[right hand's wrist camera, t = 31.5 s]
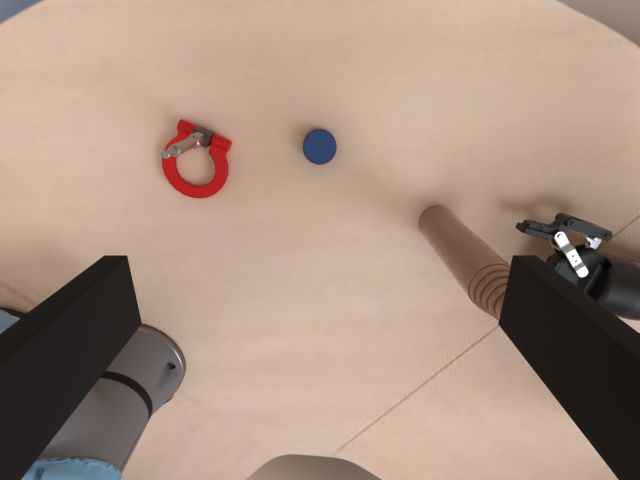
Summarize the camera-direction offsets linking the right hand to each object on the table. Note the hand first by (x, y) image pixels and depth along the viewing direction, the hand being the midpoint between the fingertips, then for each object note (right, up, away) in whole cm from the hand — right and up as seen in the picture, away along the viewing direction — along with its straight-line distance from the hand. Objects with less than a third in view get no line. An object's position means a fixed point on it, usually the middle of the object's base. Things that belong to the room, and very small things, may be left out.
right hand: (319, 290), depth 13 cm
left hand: (+23, -1, +33) cm, 41 cm away
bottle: (+16, +4, +39) cm, 42 cm away
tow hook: (-16, +12, +35) cm, 41 cm away
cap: (0, +13, +33) cm, 36 cm away
